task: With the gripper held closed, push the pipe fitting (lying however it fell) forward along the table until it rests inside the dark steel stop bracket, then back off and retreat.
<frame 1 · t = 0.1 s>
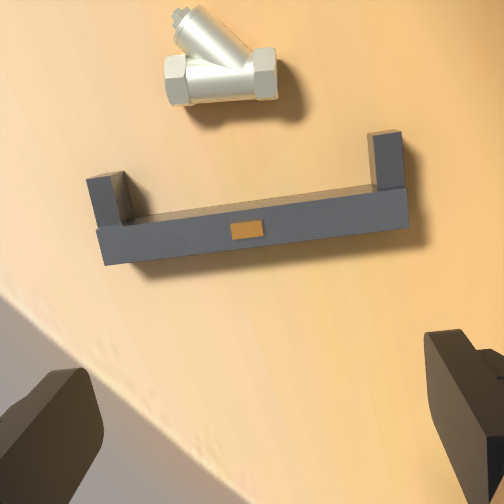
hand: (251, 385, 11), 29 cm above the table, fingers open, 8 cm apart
pipe fitting: (225, 57, 37), on the table
stop bracket: (251, 218, 40), on the table
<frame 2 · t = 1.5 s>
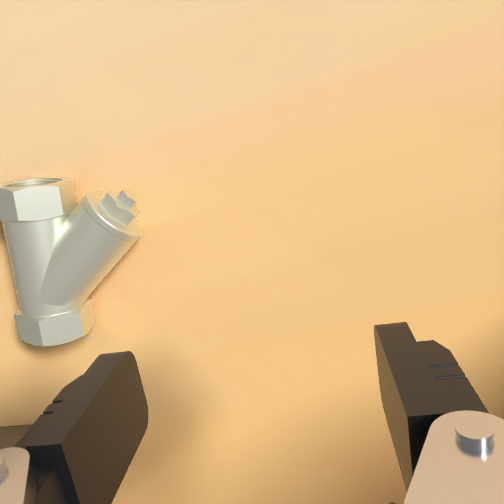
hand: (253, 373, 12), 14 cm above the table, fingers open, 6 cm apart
pipe fitting: (94, 247, 26), on the table
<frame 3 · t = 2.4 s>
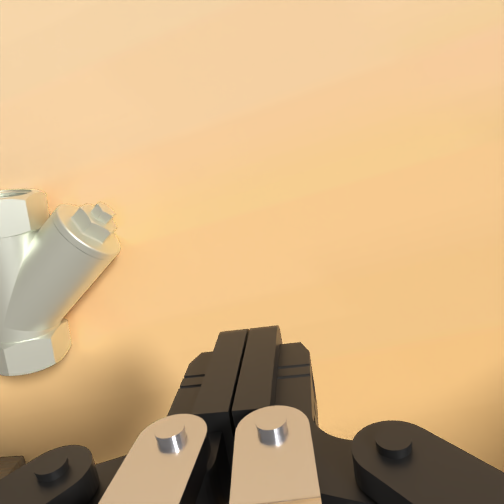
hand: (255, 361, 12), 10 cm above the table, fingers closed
pipe fitting: (70, 265, 24), on the table
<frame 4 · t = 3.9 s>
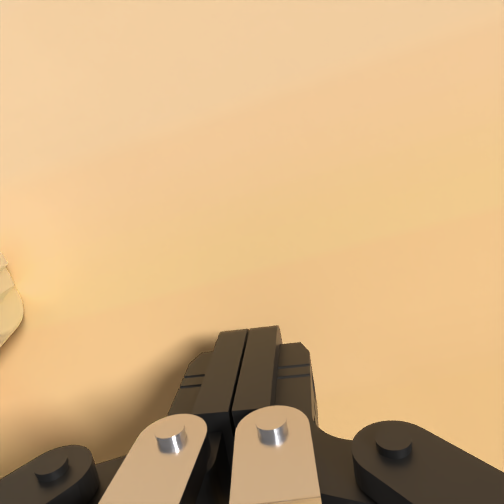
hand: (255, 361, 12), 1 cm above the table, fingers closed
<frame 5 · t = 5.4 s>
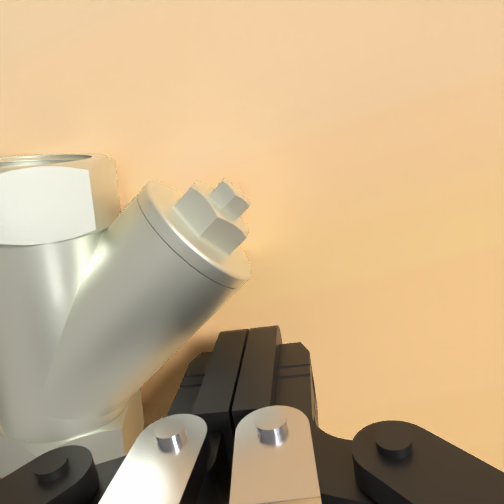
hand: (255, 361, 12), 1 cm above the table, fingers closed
pipe fitting: (143, 289, 14), on the table
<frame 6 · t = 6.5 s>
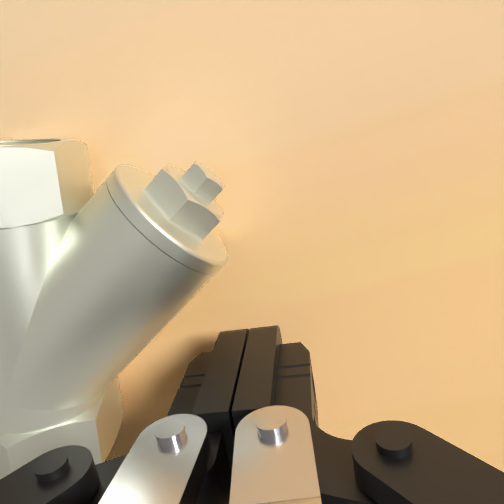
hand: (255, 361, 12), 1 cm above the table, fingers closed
pipe fitting: (121, 278, 14), on the table
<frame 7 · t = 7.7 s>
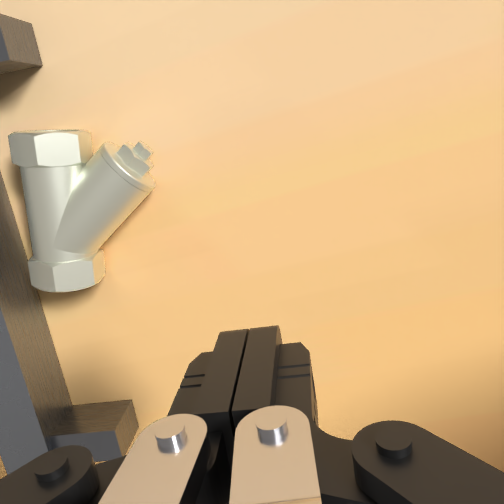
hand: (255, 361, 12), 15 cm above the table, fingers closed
pipe fitting: (106, 201, 27), on the table
stop bracket: (3, 261, 28), on the table
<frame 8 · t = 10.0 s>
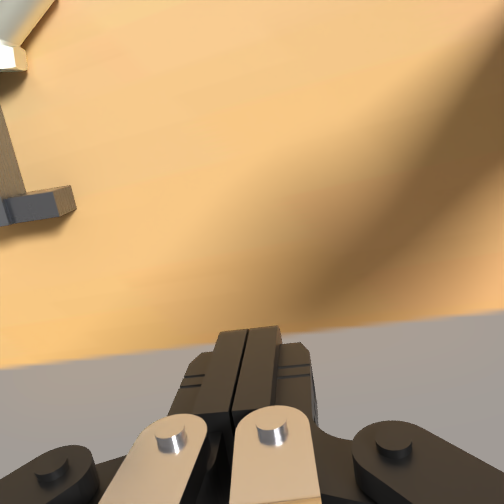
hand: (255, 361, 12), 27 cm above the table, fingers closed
pipe fitting: (28, 16, 36), on the table
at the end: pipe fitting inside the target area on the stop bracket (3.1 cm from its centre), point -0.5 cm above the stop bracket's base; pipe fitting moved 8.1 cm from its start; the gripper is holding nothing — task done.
